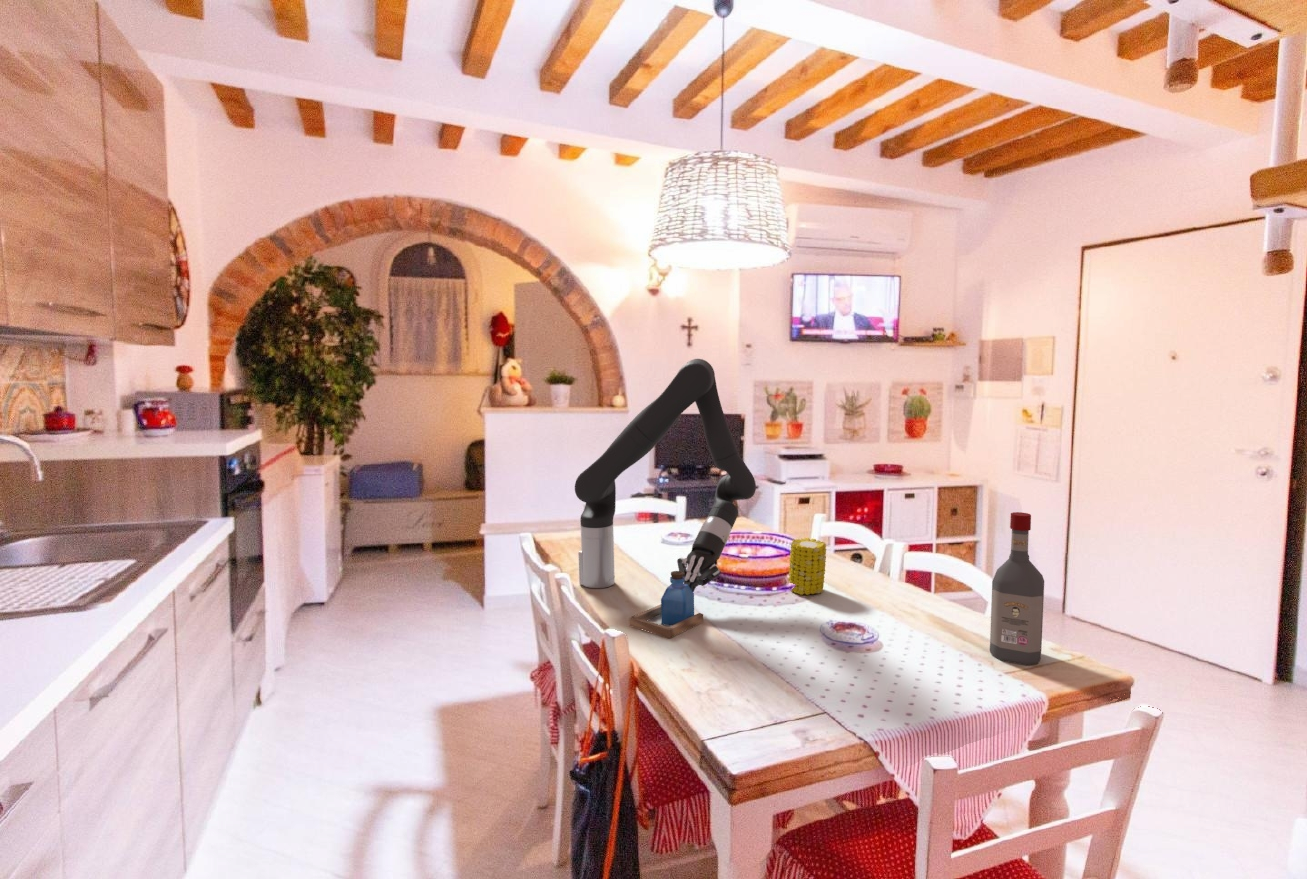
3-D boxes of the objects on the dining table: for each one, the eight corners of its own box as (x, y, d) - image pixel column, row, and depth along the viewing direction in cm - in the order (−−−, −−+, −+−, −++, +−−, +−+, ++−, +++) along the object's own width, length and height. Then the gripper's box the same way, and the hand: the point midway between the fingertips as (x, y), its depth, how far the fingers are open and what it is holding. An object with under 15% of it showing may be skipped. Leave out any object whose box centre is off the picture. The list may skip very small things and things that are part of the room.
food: (811, 589, 191) (828, 602, 181) (773, 584, 188) (789, 597, 178) (824, 537, 189) (842, 548, 180) (786, 531, 186) (802, 541, 177)
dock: (663, 610, 172) (663, 603, 171) (703, 622, 164) (703, 614, 163) (629, 626, 162) (629, 617, 162) (669, 638, 154) (669, 630, 154)
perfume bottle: (685, 627, 161) (685, 577, 159) (661, 624, 163) (660, 575, 162) (694, 618, 166) (693, 570, 165) (670, 615, 169) (669, 568, 167)
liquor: (1039, 668, 136) (1045, 520, 132) (988, 659, 140) (993, 516, 137) (1041, 652, 143) (1047, 512, 140) (993, 643, 148) (998, 507, 145)
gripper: (685, 526, 177) (656, 584, 169) (727, 533, 169) (699, 595, 161) (697, 542, 182) (670, 599, 174) (739, 549, 173) (712, 610, 165)
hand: (684, 597), depth 167 cm, fingers closed
